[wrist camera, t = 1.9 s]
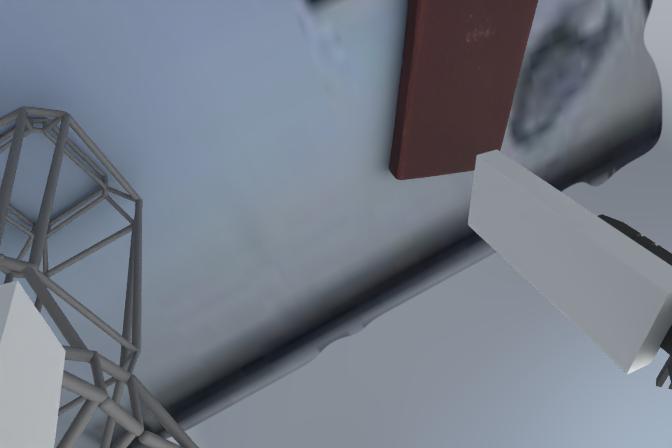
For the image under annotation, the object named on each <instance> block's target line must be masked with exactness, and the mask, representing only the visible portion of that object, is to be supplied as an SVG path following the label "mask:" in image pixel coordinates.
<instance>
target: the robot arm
mask: <svg viewBox="0 0 672 448" xmlns="http://www.w3.org/2000/svg"><path fill="white" fill-rule="evenodd" d="M468 225H469V226H470V227H471V228H472V229H473V230H474V231H475V232H476V233H477V234H478V235H479V236H480V237H482V238H483V239H484V240H485V241H486V242H487V243H488V244H489V245H490V246H491V247H492V248H493V249H494V250H495V251H496V252H497V253H499V254H500V255H501V256H502V257H503V258H504V259H505V260H506V261H507V262H508V263H509V264H510V265H511V266H512V267H514V268H515V269H516V270H517V271H518V272H519V273H520V274H521V275H522V276H523V277H524V278H525V279H526V280H527V281H528V282H529V283H530V284H532V285H533V286H534V287H535V288H536V289H537V290H538V291H539V292H540V293H541V294H542V295H543V296H544V297H546V299H547V300H548V301H550V302H551V303H552V304H553V305H554V306H555V307H556V308H557V309H558V310H559V311H560V312H561V313H562V314H563V315H564V316H565V317H567V318H568V319H569V320H570V321H571V322H572V323H573V324H574V325H575V326H576V327H577V328H578V329H579V330H580V331H581V332H583V333H584V334H585V335H586V336H587V337H588V338H589V339H590V340H591V341H592V342H593V343H594V344H595V345H596V346H597V347H598V348H599V349H601V350H602V351H603V352H604V353H605V354H606V355H607V356H608V357H609V358H610V359H611V360H612V361H613V362H614V363H615V364H617V365H618V366H619V367H620V368H621V369H622V370H623V371H624V372H625V373H626V374H628V373H631V372H633V371H635V370H637V369H639V368H642V367H644V366H646V365H648V364H650V363H651V362H652V361H653V359H654V357H655V355H656V353H657V352H658V350H659V348H660V347H661V348H662V349H664V350H665V351H666V352H667V353H668V354H670V357H669V358H668V360H667V362H666V363H665V365H664V367H663V368H662V370H661V372H660V373H659V375H658V377H657V379H656V386H659V387H662V385H663V383H664V382H665V380H666V379H667V377H668V375H669V376H670V380H671V384H670V386H669V389H672V254H671V253H670V252H668V251H667V250H665V249H664V248H662V247H661V246H659V245H658V246H656V245H655V243H654V242H653V241H651V240H650V239H648V238H647V237H645V236H643V237H642V236H641V234H640V233H639V232H637V231H636V230H634V229H633V228H631V227H629V226H628V225H627V224H625V223H623V222H620V221H618V220H616V219H613V218H610V217H608V216H605V215H599V216H596V215H595V214H593V213H592V212H590V211H589V210H587V209H586V208H584V207H583V206H581V205H580V204H578V203H577V202H575V201H573V200H572V199H571V198H569V197H568V196H566V195H565V194H563V193H562V192H560V191H559V190H557V189H556V188H554V187H553V186H551V185H550V184H548V183H547V182H545V181H544V180H542V179H541V178H539V177H538V176H536V175H535V174H533V173H532V172H530V171H529V170H527V169H526V168H524V167H523V166H521V165H520V164H518V163H517V162H515V161H514V160H512V159H511V158H509V157H508V156H506V155H505V154H503V153H502V152H500V151H499V150H493V151H490V152H486V153H482V154H479V155H477V156H476V164H475V172H474V180H473V188H472V195H471V203H470V211H469V219H468ZM65 353H66V351H65V350H64V348H63V347H62V345H61V344H60V342H59V341H58V339H57V338H56V336H55V335H54V333H53V332H52V330H51V329H50V328H49V326H48V325H47V323H46V322H45V320H44V319H43V317H42V316H41V314H40V313H39V311H38V310H37V308H36V307H35V306H34V304H33V303H32V301H31V300H30V298H29V297H28V295H27V294H26V292H25V291H24V289H23V288H22V286H21V285H20V284H19V282H18V281H13V282H10V283H6V284H2V285H0V448H54V444H55V436H56V428H57V419H58V411H59V403H60V394H61V386H62V378H63V369H64V361H65Z"/></svg>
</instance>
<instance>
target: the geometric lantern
mask: <svg viewBox="0 0 672 448" xmlns="http://www.w3.org/2000/svg"><path fill="white" fill-rule="evenodd" d="M27 114H30V115H40V116H49V117H56V118H55V119H54V120H52V121H50V120H48V119H47V118H36V119H27ZM15 119H17V122H16V127H15V128H14V129H12V130H10V131H9V132H7V133H6V134H4V135H3V136H1V137H0V143H1V142H3V141H4V140H6V139H7V138H9V137H10V136H12V135H13V134H14V136H13V139H12V140H10V141H9V142H7V143H6V144H4V145H3V146H1V147H0V153H2V152H3V151H4V150H6V149H7V148H9V147H10V146H11V148H10V152H9V156H8V160H7V164H6V168H5V172H4V176H3V180H2V184H1V188H0V244H1V239H2V234H3V230H4V225H5V221H6V220H7V221H9V222H10V223H12V224H13V225H14V226H16V227H17V228H19V229H20V230H22V231H23V232H25V233H26V234H28V235H29V236H30V237H29V239H28V241H27V243H26V244H25V246H24V248H23V249H22V251H21V253H20V254H19V256H18V258H17V259H14V258H10V257H6V256H4V255H3V254H0V270H1V271H2V272H3V273H5V274H6V278H5V282H4V284H6V283H10V282H12V280H13V277H16V278H26V280H27V281H28V283H29V284H30V286H31V287H32V289H33V290H34V292H35V293H36V295H37V298H36V301H35V305H34V306H35V307H36V308H37V310H38V311H39V313H40V312H41V308H42V304H43V305H44V307H45V308H46V310H47V311H48V313H49V314H50V316H51V317H52V319H53V320H54V322H55V323H56V325H57V326H58V328H59V329H60V331H61V332H62V334H63V336H64V337H65V339H66V340H67V342H68V343H69V345H70V346H71V347H69V346H63V345H62V347H63V348H64V350H65V351H66V353H65V360H72V361H80V362H88V363H90V364H91V368H92V373H93V378H94V383H95V386H94V385H92V384H90V383H88V382H86V381H84V380H82V379H80V378H78V377H76V376H74V375H72V374H70V373H68V372H66V371H64V370H63V378H62V386H61V387H63V388H65V389H67V390H69V391H71V392H73V393H75V394H78V395H80V397H78V398H76V399H75V400H73V401H71V402H69V403H68V404H66V405H64V406H63V407H61V408H59V411H58V416H59V415H61V414H62V413H64V412H66V411H68V410H69V409H71V408H73V407H74V406H76V405H78V404H79V403H81V402H83V401H84V400H86V399H87V400H86V401H85V403H84V404H83V406H82V408H81V409H80V411H79V412H78V414H77V416H76V417H75V419H74V420H73V422H72V424H71V425H70V427H69V428H68V430H67V432H66V433H65V435H64V436H63V438H62V440H61V441H60V443H59V444H58V446H57V448H73V447H74V445H75V444H76V442H77V440H78V439H79V437H80V435H81V434H82V432H83V431H84V429H85V427H86V426H87V424H88V422H89V421H90V419H91V417H92V416H93V414H94V412H95V411H96V409H97V407H98V406H99V408H100V409H101V410H102V411H104V412H105V413H106V414H107V415H108V418H107V422H106V426H105V430H104V434H103V438H102V443H101V447H100V448H109V447H110V443H111V439H112V434H113V430H114V426H115V421H116V422H117V423H119V424H120V425H121V426H122V427H124V428H125V429H126V430H125V431H124V432H123V434H122V435H121V436H120V437H119V438H118V439H117V441H116V442H115V443H114V444H113V445H112V446H111V448H126V447H127V446H128V445H129V444H130V443H131V441H132V440H133V439H134V438H135V437H136V436H139V441H140V442H141V443H143V444H145V445H147V446H149V447H152V448H198V446H197V445H196V444H195V443H194V442H193V441H192V440H191V439H190V437H189V436H188V435H187V434H186V433H185V432H184V431H183V429H182V428H181V427H180V426H179V425H178V424H177V423H176V422H175V420H174V419H173V418H172V417H171V416H170V415H169V414H168V413H167V411H166V410H165V409H164V408H163V407H162V406H161V405H160V403H159V402H158V401H157V400H156V399H155V398H154V397H153V396H152V394H151V393H150V392H149V391H148V390H147V389H146V388H145V386H144V385H143V384H142V383H141V382H140V381H139V380H138V379H137V377H136V376H135V375H133V374H132V372H133V369H134V366H135V364H136V361H137V358H138V357H139V355H140V352H141V273H142V203H143V202H142V199H141V198H140V196H139V195H138V194H137V193H136V192H135V191H134V189H133V188H132V187H131V186H130V185H129V184H128V182H127V181H126V180H125V179H124V178H123V177H122V175H121V174H120V173H119V172H118V171H117V169H116V168H115V167H114V166H113V165H112V164H111V162H110V161H109V160H108V159H107V158H106V157H105V155H104V154H103V153H102V152H101V151H100V149H99V148H98V147H97V146H96V145H95V144H94V142H93V141H92V140H91V139H90V138H89V137H88V135H87V134H86V133H85V132H84V131H83V130H82V128H81V127H80V126H79V125H78V124H77V122H76V121H75V120H74V119H73V118H72V117H71V115H70V114H68V113H67V112H64V111H59V110H51V109H43V108H35V107H21V108H19V109H17V110H15V111H13V112H11V113H9V114H7V115H5V116H3V117H1V118H0V127H2V126H4V125H6V124H8V123H10V122H12V121H14V120H15ZM61 120H62V121H61ZM60 121H61V125H60V130H59V129H58V128H57V127H56V126H55V125H56V124H57V123H58V122H60ZM34 123H44V124H43V128H35V127H33V124H34ZM69 125H70V127H71V128H72V129H73V130H74V131H75V132H76V133H77V135H78V136H79V137H80V138H81V139H82V140H83V142H84V143H85V144H86V145H87V146H88V147H89V148H90V150H91V151H92V152H93V153H94V154H95V155H96V157H97V158H98V159H99V160H100V161H101V162H102V163H103V165H104V166H105V167H106V168H107V169H108V170H109V172H110V173H111V174H112V175H113V176H114V177H115V178H116V180H117V181H118V182H119V183H120V184H121V185H122V187H123V188H124V189H125V190H126V191H127V192H128V193H129V195H128V194H125V193H123V192H121V191H118V190H116V189H113V188H111V187H108V183H107V175H106V174H105V173H103V172H102V171H101V170H100V169H99V168H98V167H97V166H96V165H95V164H94V163H93V162H92V161H91V160H90V159H89V158H88V157H87V156H86V155H85V154H84V153H83V152H82V151H81V150H80V149H79V148H78V147H77V146H76V145H74V144H73V143H72V142H71V141H70V140H69V139H68V138H67V133H68V128H69ZM25 127H26V130H25ZM51 128H52V129H53V130H54V131H55V132H56V133H57V134H58V138H57V139H56V138H54V137H53V136H52V135H51V134H50V133H49V132H48V131H49V130H50V129H51ZM31 132H39V133H43V134H44V135H45V136H46V137H48V138H49V139H50V140H51V141H52V142H53V143H54V144H55V145H56V147H55V151H54V155H53V159H52V163H51V167H50V171H49V175H48V180H47V184H46V188H45V192H44V196H43V200H42V204H41V208H40V213H39V217H38V221H37V224H34V223H32V222H31V221H30V220H29V219H27V218H26V217H25V216H23V215H22V214H21V213H20V212H18V211H17V210H16V209H14V208H13V207H12V206H10V205H9V202H10V197H11V192H12V188H13V183H14V178H15V173H16V169H17V164H18V159H19V155H20V150H21V145H22V140H23V138H24V137H25V136H27V135H28V134H30V133H31ZM65 143H67V144H68V145H69V146H70V147H71V148H72V149H73V150H75V151H76V152H77V153H78V154H79V155H80V156H81V157H82V158H83V159H84V160H85V161H86V162H87V163H88V164H89V165H90V166H91V167H92V168H93V169H94V170H95V171H96V172H97V173H99V174H100V175H101V176H102V180H103V181H101V180H100V179H99V178H98V177H97V176H96V175H95V174H94V173H93V172H92V171H90V170H89V169H88V168H87V167H86V166H85V165H84V164H83V163H82V162H81V161H80V160H78V159H77V158H76V157H75V156H74V155H73V154H72V153H71V152H70V151H69V150H68V149H66V148H65ZM63 152H64V153H65V154H66V155H67V156H69V157H70V158H71V159H72V160H73V161H74V162H75V163H76V164H77V165H78V166H80V167H81V168H82V169H83V170H84V171H85V172H86V173H87V174H88V175H89V176H91V177H92V178H93V179H94V180H95V181H96V182H97V183H98V184H99V185H101V186H102V188H100V189H99V190H97V191H96V192H94V193H93V194H91V195H90V196H88V197H87V198H85V199H84V200H82V201H81V202H79V203H77V204H76V205H74V206H73V207H71V208H70V209H68V210H67V211H65V212H64V213H62V214H61V215H59V216H58V217H56V218H54V219H53V220H51V221H50V222H49V220H50V215H51V210H52V205H53V200H54V196H55V191H56V186H57V181H58V176H59V172H60V167H61V162H62V157H63ZM108 191H110V192H112V193H114V194H117V195H119V196H122V197H124V198H127V199H129V200H131V201H134V202H136V203H135V217H134V220H133V219H132V218H131V217H130V216H129V215H128V214H127V213H126V212H125V211H124V210H123V209H122V208H121V207H120V206H119V205H118V204H117V203H116V202H115V201H114V200H113V199H112V198H111V197H110V196H109V195H108ZM102 192H103V193H102ZM100 193H102V196H100V197H99V198H97V199H96V200H94V201H93V202H91V203H90V204H89V205H87V206H86V207H84V208H83V209H81V210H80V211H78V212H77V213H75V214H74V215H73V216H71V217H70V218H68V219H67V220H65V221H64V222H62V223H61V224H59V225H58V226H57V227H55V228H54V229H52V230H51V225H53V224H54V223H56V222H57V221H59V220H60V219H62V218H63V217H65V216H67V215H68V214H70V213H71V212H73V211H74V210H76V209H77V208H79V207H80V206H82V205H83V204H85V203H86V202H88V201H89V200H91V199H93V198H94V197H96V196H97V195H99V194H100ZM105 198H106V199H107V200H108V201H109V202H110V203H111V204H112V205H113V206H114V207H115V208H116V209H117V210H118V211H119V212H120V213H121V214H122V215H123V216H124V217H125V218H126V219H127V220H128V221H129V222H130V223H131V225H129V226H127V227H125V228H124V229H122V230H120V231H118V232H117V233H115V234H113V235H111V236H109V237H108V238H106V239H104V240H102V241H101V242H99V243H97V244H95V245H93V246H92V247H90V248H88V249H86V250H84V251H83V252H81V253H79V254H77V255H76V256H74V257H72V258H70V259H68V260H67V261H65V262H63V263H61V264H60V265H58V266H56V267H54V268H52V269H51V270H49V271H48V254H47V238H48V237H49V236H51V235H52V234H54V233H55V232H57V231H58V230H60V229H61V228H62V227H64V226H65V225H67V224H68V223H70V222H71V221H73V220H74V219H76V218H77V217H78V216H80V215H81V214H83V213H84V212H86V211H87V210H89V209H90V208H92V207H93V206H94V205H96V204H97V203H99V202H100V201H102V200H103V199H105ZM8 210H10V211H11V212H12V213H14V214H15V215H16V216H18V217H19V218H20V219H21V220H23V221H24V222H25V223H27V224H28V225H29V226H31V227H33V228H32V231H29V230H28V229H27V228H25V227H24V226H22V225H21V224H19V223H18V222H17V221H15V220H14V219H12V218H11V217H9V216H8V215H7V211H8ZM50 230H51V231H50ZM130 231H132V236H131V247H130V258H129V269H128V280H127V291H126V301H125V312H124V323H123V334H122V336H121V335H120V334H119V333H117V332H116V331H115V330H114V329H112V328H111V327H110V326H109V325H107V324H106V323H105V322H104V321H102V320H101V319H100V318H98V317H97V316H96V315H95V314H93V313H92V312H91V311H90V310H88V309H87V308H86V307H85V306H83V305H82V304H81V303H80V302H78V301H77V300H76V299H75V298H73V297H72V296H71V295H70V294H68V293H67V292H66V291H64V290H63V289H62V288H61V287H59V286H58V285H57V284H56V283H54V282H53V281H52V280H51V279H50V276H52V275H54V274H56V273H57V272H59V271H61V270H63V269H65V268H66V267H68V266H70V265H72V264H73V263H75V262H77V261H79V260H81V259H82V258H84V257H86V256H88V255H89V254H91V253H93V252H95V251H97V250H98V249H100V248H102V247H104V246H105V245H107V244H109V243H111V242H113V241H114V240H116V239H118V238H120V237H121V236H123V235H125V234H127V233H129V232H130ZM32 241H33V244H32V249H31V254H30V259H29V262H25V261H21V260H22V258H23V257H24V255H25V253H26V252H27V250H28V248H29V246H30V245H31V243H32ZM42 252H43V272H44V273H42V272H41V271H39V270H38V269H39V265H40V261H41V256H42ZM18 271H19V272H18ZM47 287H48V288H49V289H50V290H51V291H53V292H54V293H55V294H57V295H58V296H59V297H61V298H62V299H63V300H64V301H66V302H67V303H68V304H70V305H71V306H72V307H73V308H75V309H76V310H77V311H79V312H80V313H81V314H82V315H84V316H85V317H86V318H88V319H89V320H90V321H92V322H93V323H94V324H95V325H97V326H98V327H99V328H101V329H102V330H103V331H104V332H106V333H107V334H108V335H110V336H111V337H112V338H113V339H115V340H116V341H117V342H119V343H120V344H121V345H122V346H121V357H120V366H118V365H116V364H115V363H113V362H112V361H110V360H108V359H107V358H105V357H103V356H102V355H100V354H98V352H97V351H92V350H88V349H87V347H86V346H85V344H84V343H83V341H82V340H81V338H80V337H79V336H78V334H77V333H76V331H75V330H74V328H73V327H72V325H71V324H70V322H69V321H68V319H67V318H66V316H65V315H64V313H63V312H62V310H61V309H60V307H59V306H58V305H57V303H56V302H55V300H54V299H53V297H52V296H51V294H50V293H49V291H48V290H47ZM131 327H132V344H131V343H130V341H131ZM130 352H131V353H130ZM102 371H104V372H106V373H107V374H109V375H111V376H113V377H112V378H110V379H108V380H107V381H105V382H104V377H103V373H102ZM115 382H116V385H115V389H114V393H113V397H112V398H110V397H109V396H108V393H107V391H106V388H107V387H108V386H110V385H112V384H113V383H115ZM124 383H125V384H126V385H127V386H128V389H129V395H130V402H131V408H132V414H133V416H132V415H130V414H129V413H128V412H127V411H126V410H124V409H123V408H122V407H121V406H120V405H119V404H120V400H121V396H122V391H123V387H124ZM139 400H140V401H141V402H142V403H143V404H144V405H145V406H146V407H147V409H148V410H149V411H150V412H151V413H152V414H153V415H154V416H155V418H156V419H157V420H158V421H159V422H160V423H161V424H162V425H163V427H164V428H165V429H166V430H167V431H168V432H169V433H170V434H171V436H172V437H173V438H174V439H175V440H176V441H177V442H178V443H179V445H180V446H179V445H177V444H175V443H173V442H170V441H168V440H166V439H164V438H162V437H160V436H158V435H156V434H153V433H151V432H149V431H144V427H143V419H142V414H141V408H140V402H139Z"/></svg>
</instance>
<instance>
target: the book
mask: <svg viewBox="0 0 672 448" xmlns="http://www.w3.org/2000/svg"><path fill="white" fill-rule="evenodd" d="M537 3H538V0H409V8H408V17H407V25H406V33H405V44H404V52H403V64H402V69H401V77H400V85H399V94H398V102H397V112H396V120H395V129H394V135H393V144H392V151H391V158H390V164H389V168H390V172H391V173H392V174H393V176H394V177H395V178H396V179H399V180H406V179H414V178H423V177H431V176H438V175H445V174H452V173H459V172H466V171H473V170H475V164H476V156H477V155H479V154H482V153H486V152H490V151H493V150H499V151H500V149H501V146H502V142H503V138H504V134H505V130H506V126H507V122H508V118H509V114H510V110H511V105H512V101H513V96H514V92H515V88H516V85H517V81H518V77H519V73H520V69H521V65H522V61H523V57H524V53H525V49H526V45H527V41H528V37H529V34H530V30H531V26H532V22H533V18H534V15H535V11H536V7H537Z"/></svg>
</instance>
